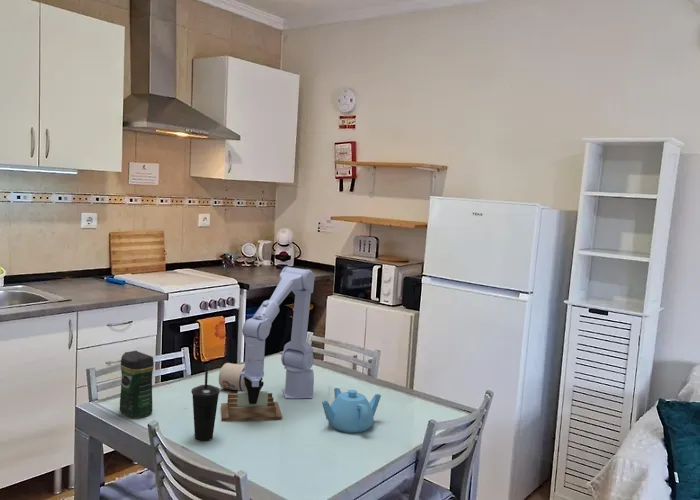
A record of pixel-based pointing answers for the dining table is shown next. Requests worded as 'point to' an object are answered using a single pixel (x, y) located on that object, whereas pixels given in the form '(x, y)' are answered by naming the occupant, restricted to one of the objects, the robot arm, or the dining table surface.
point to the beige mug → (232, 377)
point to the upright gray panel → (244, 401)
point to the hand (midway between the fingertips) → (252, 402)
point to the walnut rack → (249, 410)
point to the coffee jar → (136, 384)
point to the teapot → (351, 411)
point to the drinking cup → (204, 409)
